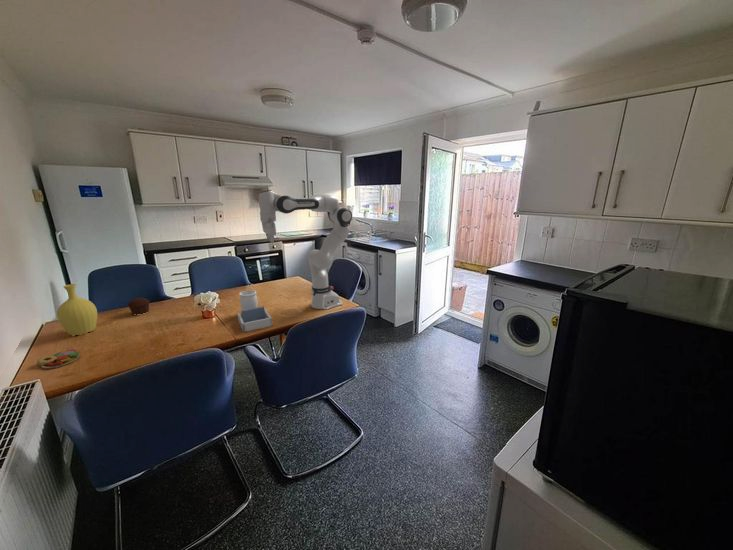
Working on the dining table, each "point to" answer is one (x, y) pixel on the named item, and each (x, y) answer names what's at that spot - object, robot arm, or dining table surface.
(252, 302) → the jar
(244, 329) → the open storage bin
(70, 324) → the vase
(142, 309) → the muffin
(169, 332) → the dining table surface
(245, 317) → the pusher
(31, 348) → the dining table surface
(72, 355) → the toy food set
